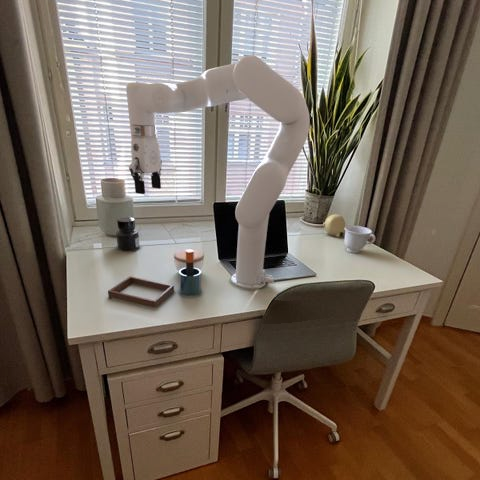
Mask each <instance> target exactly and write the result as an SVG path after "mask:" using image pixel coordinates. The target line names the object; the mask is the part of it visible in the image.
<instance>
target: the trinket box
mask: <svg viewBox="0 0 480 480" xmlns="http://www.w3.org/2000/svg"><path fill="white" fill-rule="evenodd" d="M189 249H190V250H193V251H194V268H197V269H199V270H200V271H201V272H202V269H203V267H204V260H205V259H204V258H205V254H204V252H203V251H201V250H199V249H194V248H183V249H179V250H175V252H174V253H173V259H174V267H175V269H176V271H177V272H178V273H179V270H181V269H183V268H186V250H189Z"/></svg>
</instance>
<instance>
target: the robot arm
mask: <svg viewBox="0 0 480 480" xmlns="http://www.w3.org/2000/svg"><path fill="white" fill-rule="evenodd" d="M125 91H126V99H127V100H126V101H127V110H128V119H129V128H130V129H129V130H130V138H131V139H130V140H131V141H130V152H131V163H130V164H129V166H128V170H129V172H130V175H131V177H132V180H133V183H134V190H135V194H138V195H146V187H145V180H144V176H145V174H146V175H149V174H151V175H150V181H151V188H152V189H159V190H160V189H161V188H162V184H161V183H162V182H161V175H162V173H161V171H162V163H163V161H162V158H161V151H160V144H159V140H158V136H157V126H156V125H157V124H156V114H160V115H171V114H172V115H176V114H180V113H185V112H190V111H194V110H198V109H203V108H208V107H215V106H216V107H217V106H219V105H224V104H228V103H232V102H238V101H242V100H243V101H244V100H246V99H248V100H249V101H250V102H251V103H253V104H254V105H255V106H256V107H258V108H259V109H261V110H262V111H263V112H265V113H266V114H267V115H268V116H270V117H271V118H272V119H273V120H275V121H277V122H278V123H279V127H278V132H276V135H275V137H274V139H273V141H272V143H271V145H270V147H269V149H268V150H267V153H266V154H265V156H264V158H263V159H262V161H261V162H260V163H259V164H258V166H257V167H256V168H255V170H254V171H253V173H252V175H251V177H250V179H249V181H248V183H247V185H246V187H245V189H244V191H243V193H242V194H241V196H240V198H239V200H238V203H237V204H236V206H235V211H234V214H235V215H234V216H235V220H236V221H237V223H238V231H237V247H236V261H235V265H236V266H235V273H234V274H233V275H232V276H231V278H230V281H231V283H232V284H233V285H234V286H236V287H238V288H243V289H249V290H251V289H257V290H259V289H261V288H263V287H264V286H266V283H268V284H274V281H275V278H274V277H273V275H271V274H267V273H266V270H265V269H264V263H265V254H266V253H265V252H266V242H267V234H268V233H267V232H268V226H269V218H270V213H271V211H272V210H273V208H274V206H275V204H276V203H277V201H278V199H279V197H280V195H281V194H282V193H283V190H284V188H285V186H286V183H287V180H288V177H289V174H290V172H291V170H292V169H293V167H294V165H295V163H296V161H297V159H298V158H299V156H300V154H301V152H302V150H303V148H304V146H305V144H306V141H307V139H308V136H309V132H310V124H311V122H310V118H311V117H310V111H309V107H308V105H307V103H306V100H305V98H304V96H303V94H302V93H301V91H300V90H299V88H297V87H296V86H295V85H294V84H293V83H291V82H289V81H288V80H287V79H286V78H284V76H282V75H280V74H279V73H278V72H277V71H275V70H274V69H272V67H270V66H269V65H268V64H267V63H265V62H264V60H262V58H260V57H259V56H256V55H252V54H250V55H244V56H243V57H242V58H240V59H238V61H237V62H233V63H230V64H225V65H222V66H218V67H217V66H216V67H212V68H209V69H207V70H205V71H204V72H203V73H202V74H201V75H200V76H198V77H195V78H193V79H189V80H185V81H182V82H178V83H168V82H154V83H146V82H135V81H134V82H133V81H132V82H128V83H127V84H126V89H125Z"/></svg>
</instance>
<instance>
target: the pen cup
mask: <svg viewBox="0 0 480 480" xmlns="http://www.w3.org/2000/svg"><path fill="white" fill-rule="evenodd" d="M178 282H179V283H178V288H179V293H180V294H181V295H183V296H188V297H192V296H193V297H194V296H197V295H199V294H200V293H201V292H202V270H201V271H200V270H199V269H197V268H194V275H193V276H187V275H186V268H183V269H181V270H179V272H178Z"/></svg>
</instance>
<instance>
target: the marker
mask: <svg viewBox="0 0 480 480" xmlns="http://www.w3.org/2000/svg"><path fill="white" fill-rule="evenodd" d="M188 249H189V250H186V275H187V276H193V275H194V251H193V250H190V249H191V248H188Z"/></svg>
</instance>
